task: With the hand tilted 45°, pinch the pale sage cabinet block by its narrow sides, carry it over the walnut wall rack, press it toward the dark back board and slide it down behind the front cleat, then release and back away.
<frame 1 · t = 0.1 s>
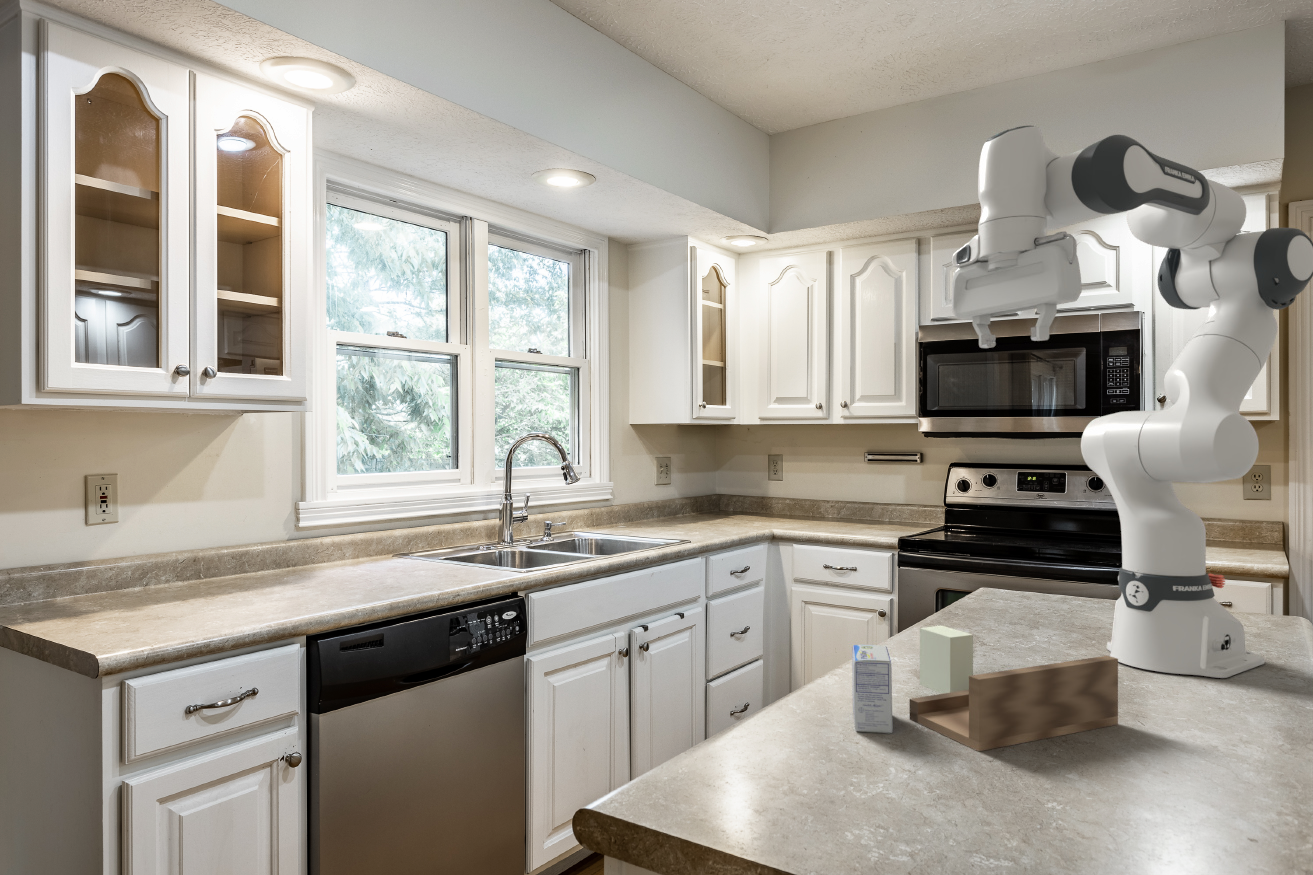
hand: (1012, 344, 116), 48 cm above the countertop, tool pointing down, fingers open, 8 cm apart
sage cabinet block: (946, 688, 115), on the countertop
medicine box: (871, 723, 102), on the countertop
walnut wall rack: (1020, 724, 101), on the countertop
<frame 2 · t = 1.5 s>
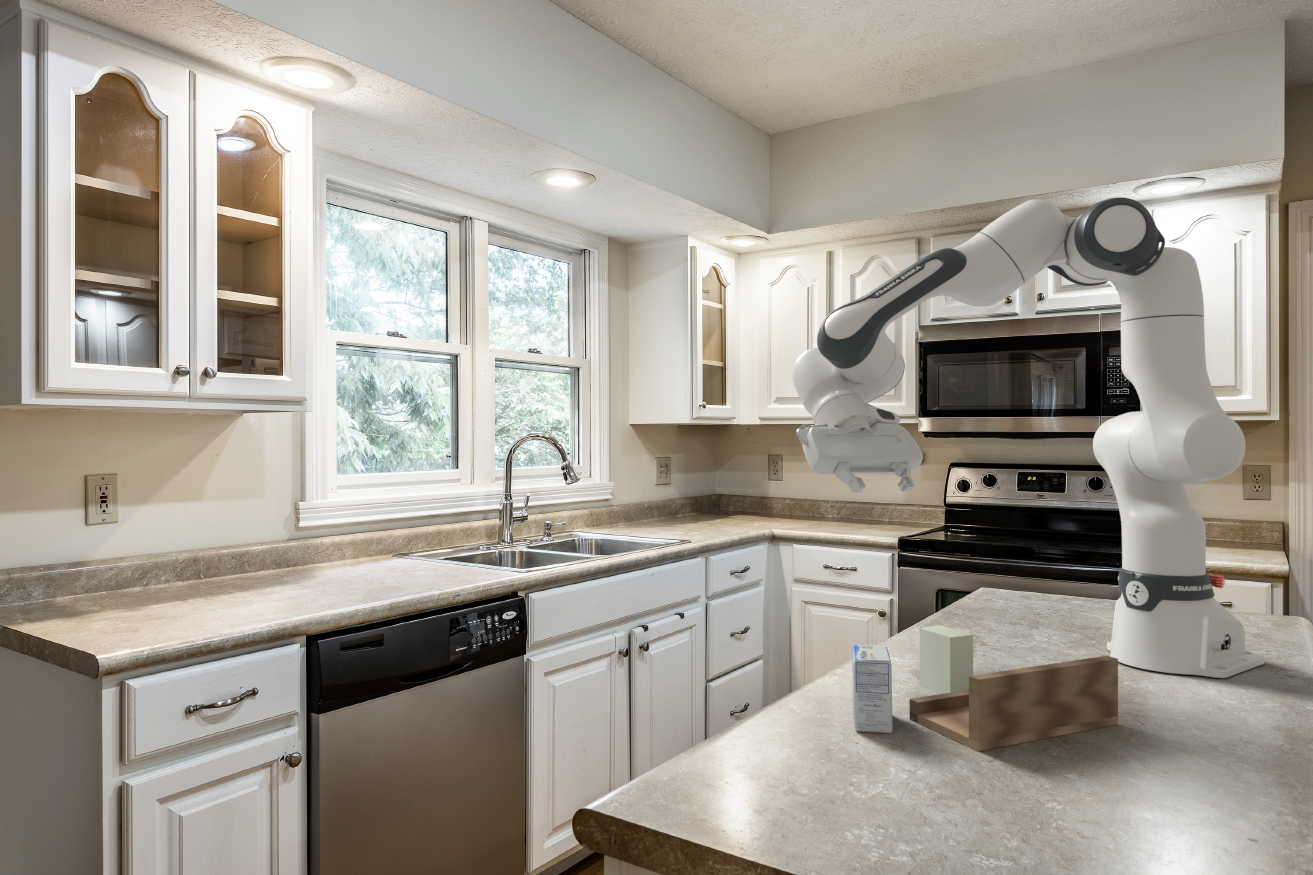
hand: (884, 489, 127), 27 cm above the countertop, tool tilted 45°, fingers open, 8 cm apart
nothing on the countertop moved.
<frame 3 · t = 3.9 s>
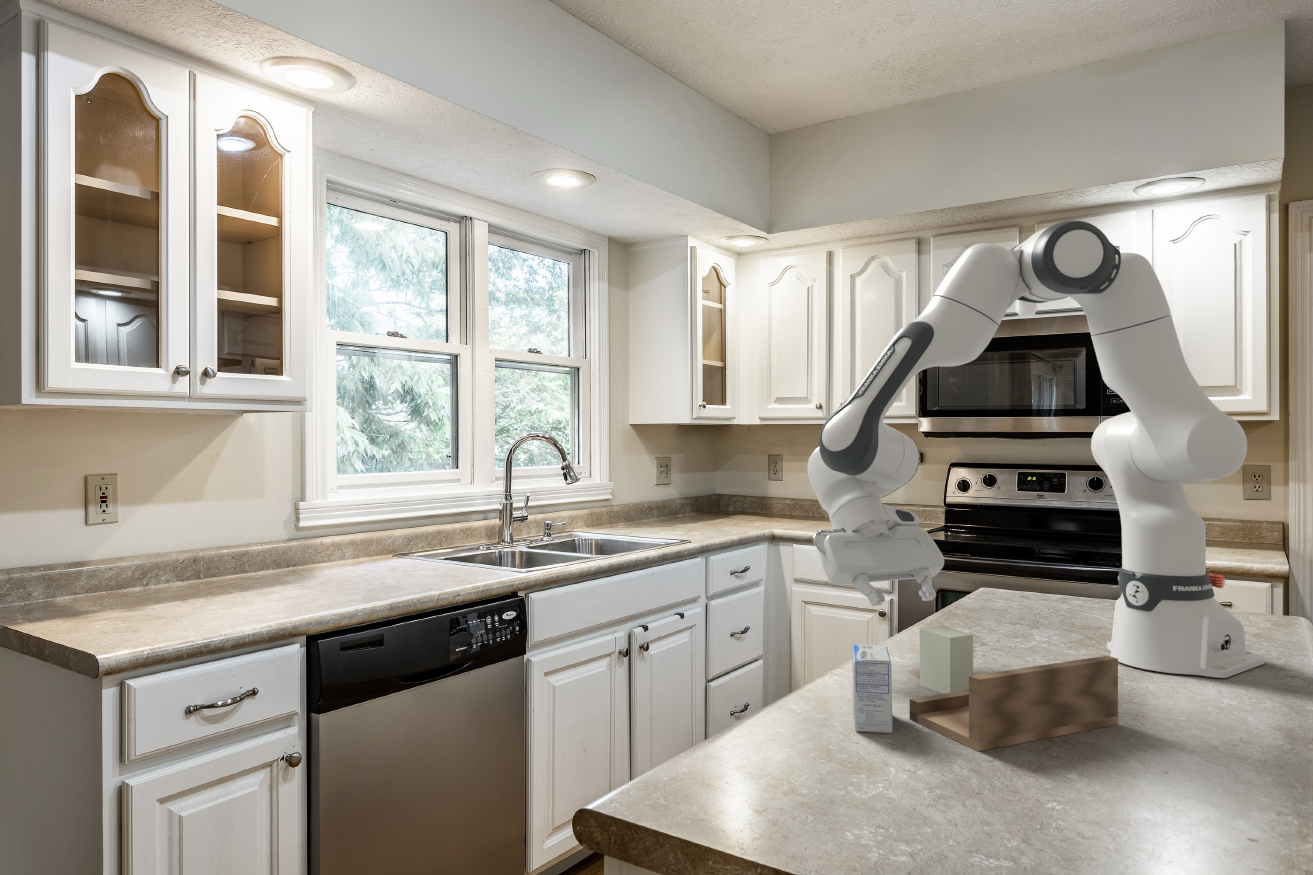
hand: (905, 600, 123), 11 cm above the countertop, tool tilted 45°, fingers open, 8 cm apart
nothing on the countertop moved.
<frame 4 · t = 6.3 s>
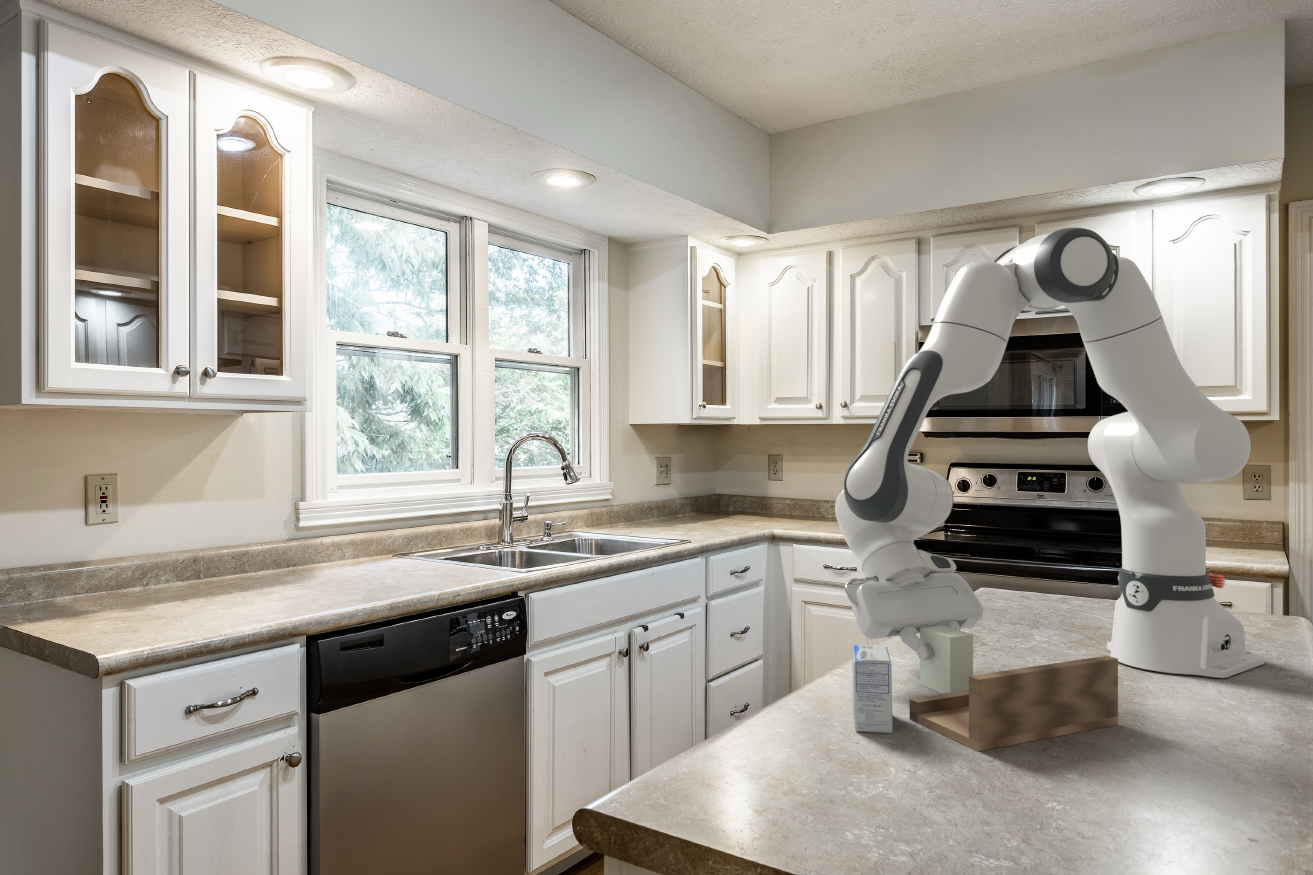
hand: (944, 656, 116), 4 cm above the countertop, tool tilted 45°, fingers closed on sage cabinet block, 4 cm apart
sage cabinet block: (946, 688, 115), on the countertop, touching gripper
everything else where it was.
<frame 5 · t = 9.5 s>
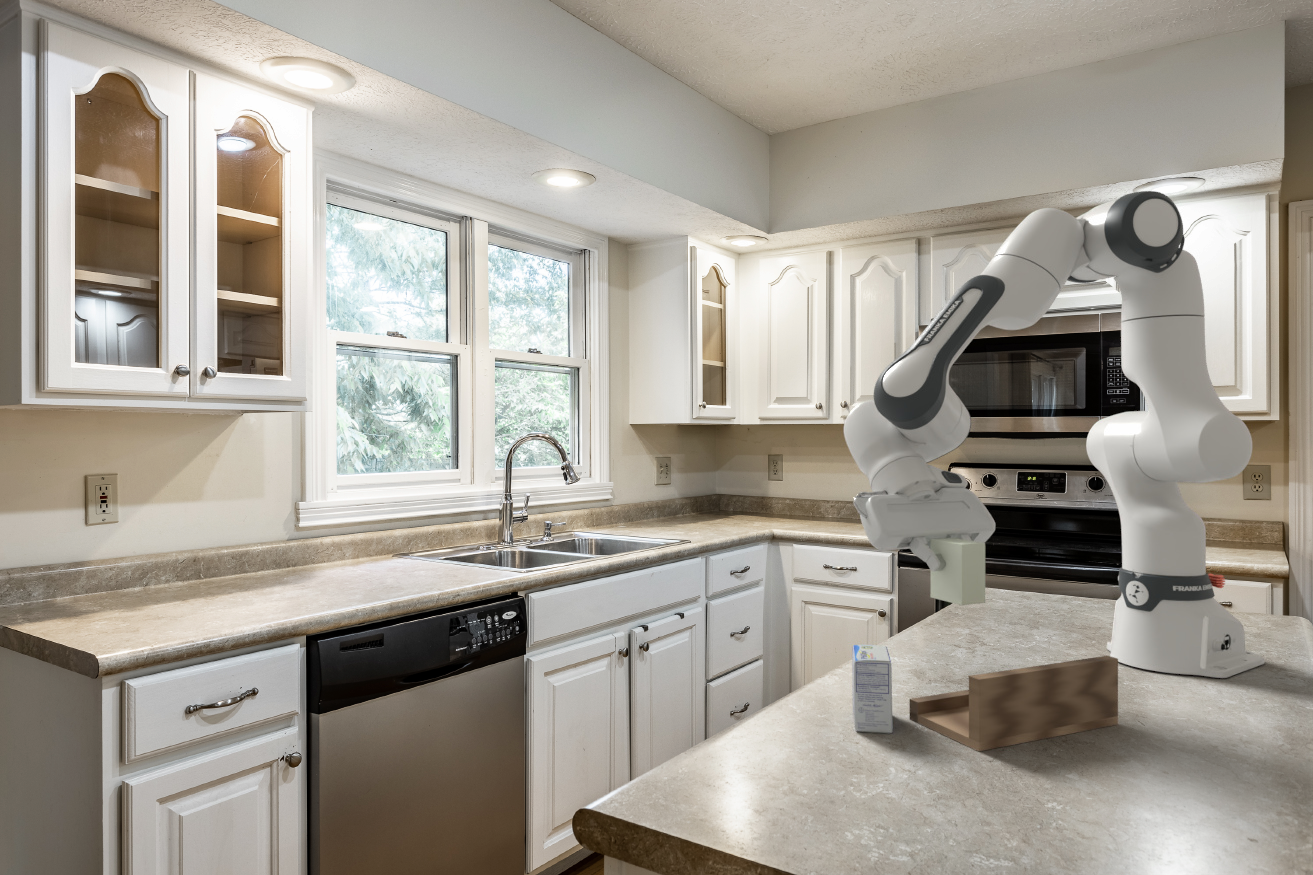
hand: (955, 567, 113), 17 cm above the countertop, tool tilted 45°, fingers closed on sage cabinet block, 4 cm apart
sage cabinet block: (957, 599, 113), point 13 cm above the countertop, touching gripper
everything else where it was.
when the fingers open (6 cm above the countertop, at t = 12.7 s): sage cabinet block stays where it is, resting on walnut wall rack.
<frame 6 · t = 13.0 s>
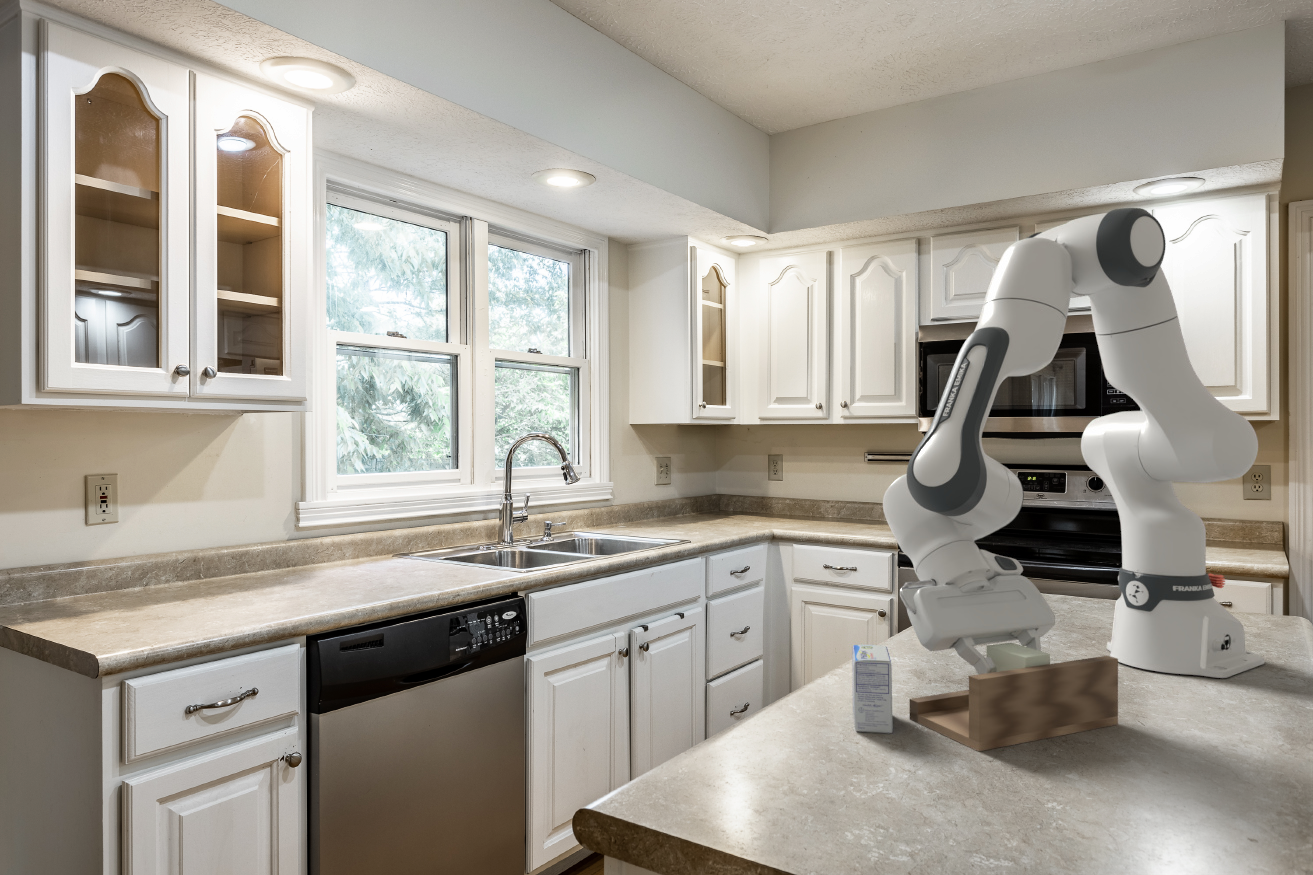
hand: (1015, 670, 102), 6 cm above the countertop, tool tilted 45°, fingers open, 7 cm apart
sage cabinet block: (1017, 715, 101), point 1 cm above the countertop, touching walnut wall rack
everything else where it was.
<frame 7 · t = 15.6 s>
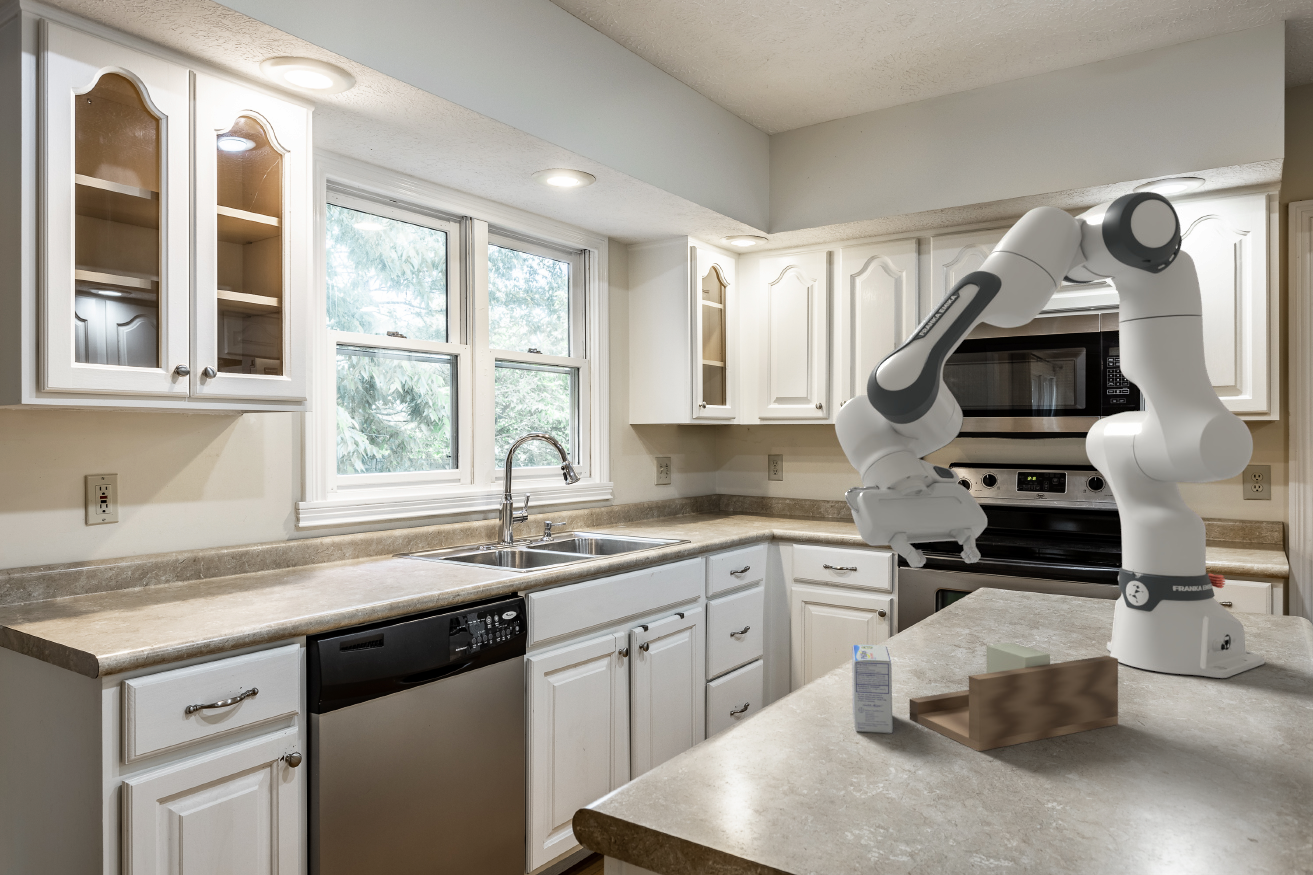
hand: (947, 562, 112), 18 cm above the countertop, tool tilted 45°, fingers open, 8 cm apart
nothing on the countertop moved.
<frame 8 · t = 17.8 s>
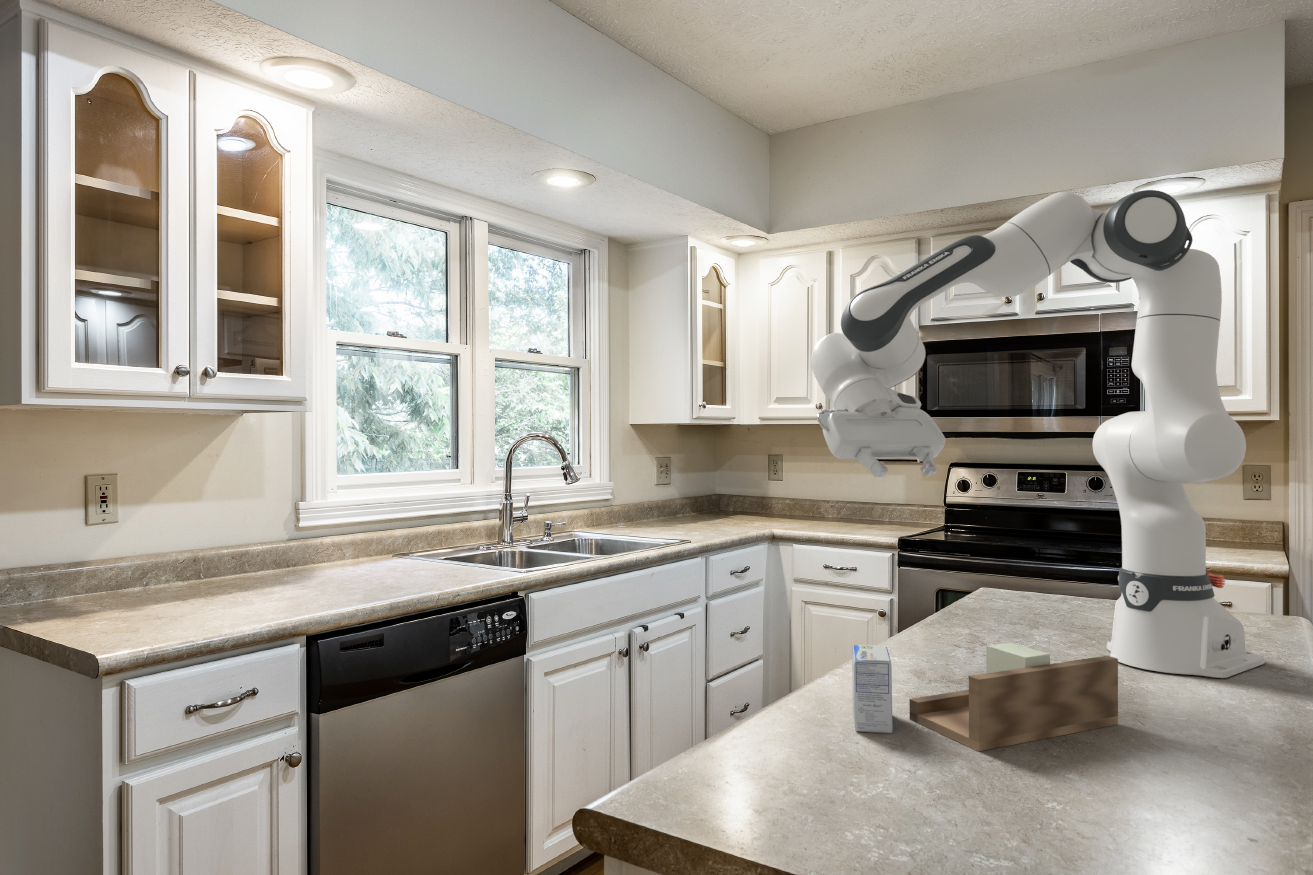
hand: (907, 473, 126), 29 cm above the countertop, tool tilted 45°, fingers open, 8 cm apart
nothing on the countertop moved.
at the end: sage cabinet block inside the target area on the walnut wall rack (0.8 cm from its centre), point 1.0 cm above the walnut wall rack's base; sage cabinet block tilted 0°; the gripper is holding nothing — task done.
